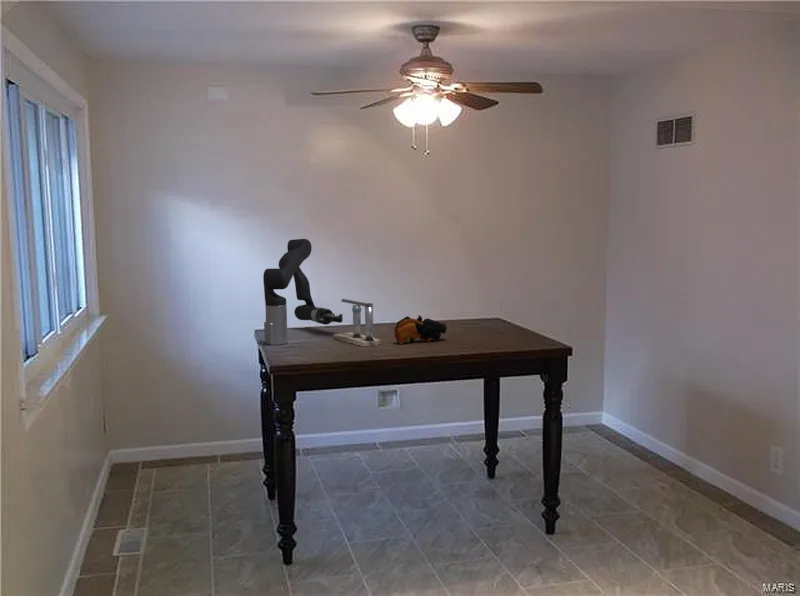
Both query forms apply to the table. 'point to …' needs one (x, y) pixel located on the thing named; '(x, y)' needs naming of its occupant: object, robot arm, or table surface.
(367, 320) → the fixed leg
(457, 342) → the table surface
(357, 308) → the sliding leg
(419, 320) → the tool
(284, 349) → the table surface
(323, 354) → the table surface
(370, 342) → the hole board
